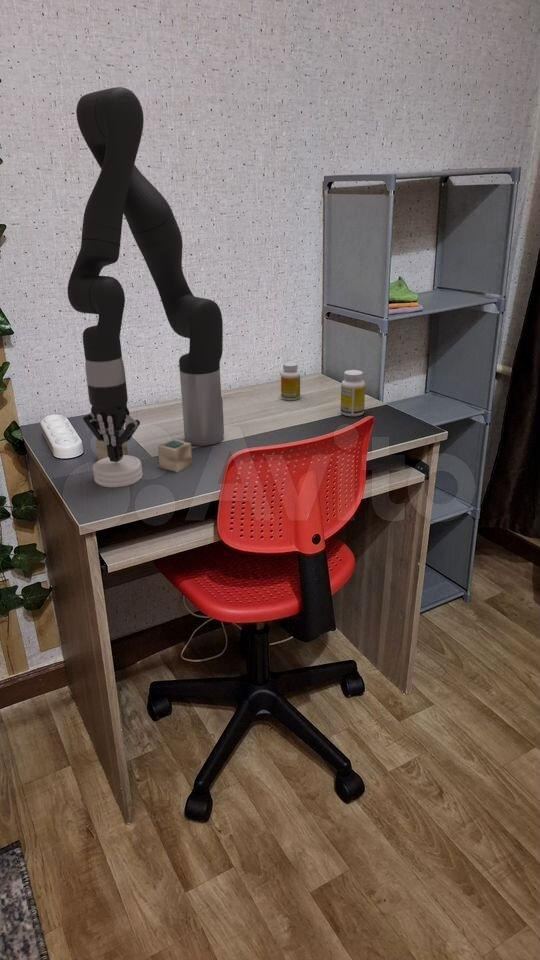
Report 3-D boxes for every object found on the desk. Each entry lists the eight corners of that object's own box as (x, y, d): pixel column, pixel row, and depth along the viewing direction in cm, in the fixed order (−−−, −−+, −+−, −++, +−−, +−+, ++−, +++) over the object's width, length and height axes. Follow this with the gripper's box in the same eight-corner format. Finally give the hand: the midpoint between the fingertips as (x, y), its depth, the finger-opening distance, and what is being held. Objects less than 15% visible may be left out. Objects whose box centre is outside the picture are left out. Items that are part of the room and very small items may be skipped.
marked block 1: (107, 452, 155) (104, 430, 153) (127, 453, 154) (125, 431, 152) (98, 460, 150) (95, 438, 148) (119, 461, 150) (117, 439, 147)
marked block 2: (175, 459, 150) (173, 437, 148) (192, 464, 148) (190, 442, 145) (159, 467, 146) (157, 444, 144) (177, 472, 144) (175, 449, 142)
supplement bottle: (300, 400, 186) (300, 366, 182) (281, 401, 186) (280, 366, 182) (299, 394, 191) (300, 361, 187) (281, 395, 191) (280, 361, 187)
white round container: (124, 465, 148) (123, 450, 147) (152, 477, 142) (150, 462, 140) (85, 479, 142) (83, 464, 140) (112, 493, 135) (110, 477, 134)
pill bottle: (363, 409, 179) (365, 369, 174) (364, 417, 173) (366, 375, 168) (340, 409, 179) (341, 368, 175) (340, 416, 174) (341, 375, 169)
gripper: (145, 378, 133) (152, 458, 141) (91, 371, 138) (101, 449, 146) (122, 388, 127) (131, 472, 134) (67, 381, 132) (78, 462, 139)
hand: (115, 460), depth 140 cm, fingers closed
